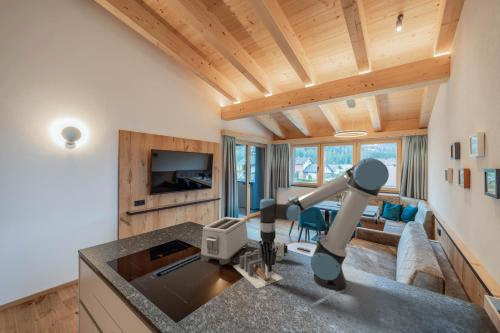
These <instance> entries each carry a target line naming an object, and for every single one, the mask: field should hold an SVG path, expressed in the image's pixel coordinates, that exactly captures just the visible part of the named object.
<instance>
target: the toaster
mask: <svg viewBox="0 0 500 333" xmlns="http://www.w3.org/2000/svg"><path fill="white" fill-rule="evenodd" d="M247 228H248V227H247V219H246V218H240V217H230V216H225V217H222V218H220V219H218V220H216V221H214V222H211V223H210V224H207V225H205V226H203V227H202V237H201V239H202V240H201V250H200V254H201V258H200V261H203V262H207V263H208V262H209V261H211V260H213V259H215V260H219V265H226V264H230V263H231V259H232V258H233V257H234V256H235V255H236V254H237V253H238V252H240V251H241V250H242V249H247V248H248V247H249V237H248V230H247ZM247 246H248V247H247ZM243 247H245V248H243ZM246 247H247V248H246Z"/></svg>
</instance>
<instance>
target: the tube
mask: <svg viewBox="0 0 500 333" xmlns="http://www.w3.org/2000/svg"><path fill="white" fill-rule="evenodd" d="M248 259H249V258H248ZM248 259H247V266H248V262H251V261H252V260H253V259H252V260H251V259H249V260H248ZM253 272H255V273H256V274H257V275H258V276H260V277H261V278H262V279H263V280H265V281H269V279H270V278H268V279H267V278H266V274H265V270H264V269H263V268H261V267H260V266H258V265H257V264H254V265H253Z"/></svg>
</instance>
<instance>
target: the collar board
mask: <svg viewBox="0 0 500 333" xmlns="http://www.w3.org/2000/svg"><path fill="white" fill-rule="evenodd" d="M251 257H252V261H251V262H248V266H247V260H249V258H251ZM254 264H257V265H258V266H260V267H261V268H263V269H264V270H265V263H264V261H262V255H261V249H260V248H259V249H254V250H253V252H252V251H247V252H245V254H242V255H239V264H235V265H232V267H233V268H234V269H235V270H237V272H238V273H239V274H241V275H242V276H243V277H244V278H245V279H246V280H247V281H248V282H249V283H250V284H251V285H253V287H255V288H256V289H259V288H263V287H265V286H267V285H270V284H273V283H276V282H278V281H280V280H283V279H284V277H282V276H281V275H279V274H278V273H276V271H273V270H272V277H271V278H270V279H269V281H265V280H263V279H262V278H261V277H260V276H258V275H257V274H256V273H255V272H253V265H254Z"/></svg>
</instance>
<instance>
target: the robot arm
mask: <svg viewBox="0 0 500 333" xmlns="http://www.w3.org/2000/svg"><path fill="white" fill-rule="evenodd" d="M389 174H390V173H389V169H388V167H387V165H386V164H385V163H384V162H383V161H381V160H379V159H377V158H372V157H370V158H368V157H367V158H364V159H362V160H359V162H357V163H356V164H354V165H353V166H352V167H350V168H349V169H347V170H345V171H344V173H343V174H341V175H340V176H338V177H335V178H332V180H329V181H328V182H326V183H323V184H321V185H320V186H317V187H315V188H313V189H312V190H309V191H307V192H305V193H303V194H301V195H299V196H298V197H295V198H293V199H291V200H289V201H288V202H287V203H276V200H275V199H274V198H262V199H261V200H260V203H259V216H260V220H259V221H260V222H259V229H260V233H259V234H260V236H259V237H260V239H261V240H258V242H259V243H258V244H259V245H260V247H259V249H260V251H261V258H262V261H264V263H265V274H266V278H267V279H268V278H271V277H272V271H273V266H274V265H276V261H275V260H276V254H277V250H278V247H275V243H274V242H275V240H276V235H277V234H276V220H280V221H289V222H298V221H300V218H301V213H302V212H305V211H307V210H309V209H311V208H313V207H315V206H317V205H319V204H321V203H324V202H326V201H328V200H330V199H332V198H335V197H337V196H339V195H342V194H344V193H346V194H345V197H344V199H343V200H342V202H341V205H340V207H339V209H338V211H337V213H336V215H335V217H334V219H333V221H332V223H331V226H330V227H329V230H328V231H327V234H319V235H317V236H316V239H315V240H316V247H315V250H314V252H313V254H312V256H311V258H310V266H311V267H310V268H311V270H312V271H313V281H314V283H315V284H316V285H317V286H320V287H321V288H324V289H327V290H333V291H335V292H341V291H344V290H345V289H346V288H347V281H346V277H345V273H344V271H343V263H344V261H345V260H346V257H347V255H348V254H347V250H346V248H347V246H348V244H349V243H350V240H351V238H352V237H353V235H354V232H355V230H356V228H357V226H358V224H359V222H360V221H361V219H362V217H363V215H364V213H365V210H366V209H367V206H368V205H369V203H370V201H371V200H372V199H374V198H377V197H378V196H379V193H380V191H381V189H382V188H383V187H384V186H385V185H386V184H387V182H388V180H389V177H390V175H389Z"/></svg>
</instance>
